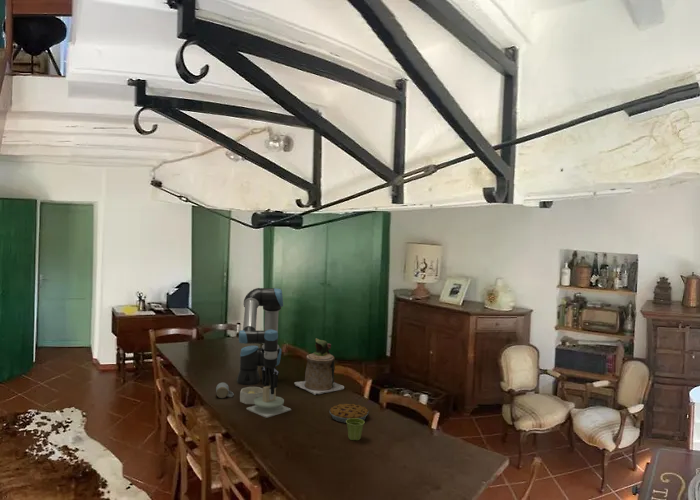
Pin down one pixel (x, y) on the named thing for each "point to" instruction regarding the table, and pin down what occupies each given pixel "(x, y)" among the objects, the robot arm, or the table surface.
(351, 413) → the pie
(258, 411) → the mat
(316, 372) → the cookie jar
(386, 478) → the table surface
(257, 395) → the bowl
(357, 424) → the plant pot
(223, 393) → the ceramic mug
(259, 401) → the lid
